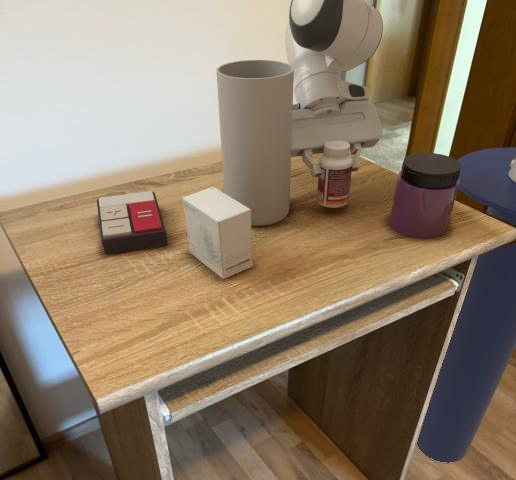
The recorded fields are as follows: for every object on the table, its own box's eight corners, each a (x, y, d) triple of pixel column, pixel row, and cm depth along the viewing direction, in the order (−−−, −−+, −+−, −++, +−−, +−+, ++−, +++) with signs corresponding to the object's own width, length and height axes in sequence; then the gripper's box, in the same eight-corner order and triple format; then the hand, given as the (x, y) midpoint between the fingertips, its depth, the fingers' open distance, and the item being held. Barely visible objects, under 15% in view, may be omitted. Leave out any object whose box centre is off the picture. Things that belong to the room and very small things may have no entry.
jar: (424, 208, 96) (437, 151, 88) (458, 232, 88) (476, 173, 81) (378, 217, 93) (388, 160, 86) (410, 243, 86) (423, 183, 78)
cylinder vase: (266, 193, 101) (266, 56, 85) (301, 216, 94) (309, 71, 77) (213, 208, 97) (202, 66, 80) (246, 234, 89) (241, 83, 72)
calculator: (99, 236, 81) (95, 194, 91) (105, 258, 84) (100, 215, 94) (165, 226, 83) (153, 187, 94) (168, 248, 86) (157, 207, 97)
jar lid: (435, 162, 89) (438, 149, 87) (469, 182, 82) (473, 169, 81) (390, 170, 87) (392, 157, 85) (421, 192, 80) (425, 177, 78)
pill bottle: (353, 199, 96) (360, 142, 88) (339, 211, 92) (345, 153, 84) (325, 192, 98) (329, 136, 91) (310, 204, 94) (314, 146, 87)
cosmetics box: (187, 253, 84) (180, 196, 77) (218, 241, 87) (214, 185, 80) (221, 280, 78) (217, 220, 71) (254, 266, 80) (252, 207, 73)
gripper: (271, 97, 86) (287, 173, 85) (376, 86, 90) (393, 158, 89) (264, 116, 92) (279, 187, 92) (363, 105, 96) (378, 173, 96)
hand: (336, 173), depth 91 cm, fingers closed on pill bottle, 6 cm apart
